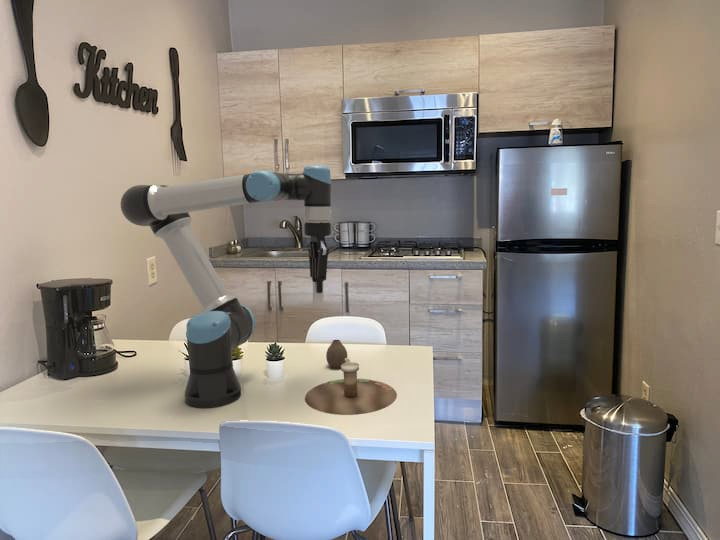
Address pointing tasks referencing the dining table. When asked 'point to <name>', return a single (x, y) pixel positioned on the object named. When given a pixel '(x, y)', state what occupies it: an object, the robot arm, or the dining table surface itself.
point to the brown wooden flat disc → (335, 402)
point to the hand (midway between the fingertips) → (318, 303)
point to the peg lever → (350, 377)
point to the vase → (336, 354)
